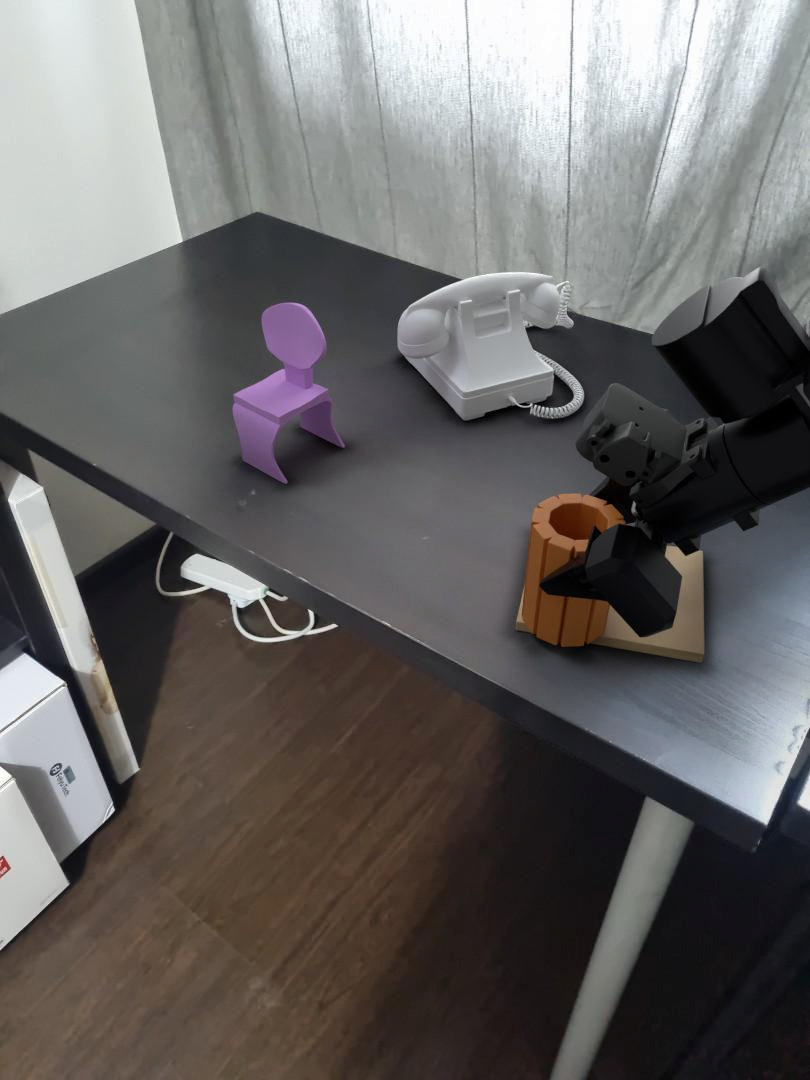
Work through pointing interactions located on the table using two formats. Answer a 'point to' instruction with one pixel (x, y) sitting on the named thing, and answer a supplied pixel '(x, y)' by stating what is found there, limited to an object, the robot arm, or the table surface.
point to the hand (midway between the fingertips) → (553, 557)
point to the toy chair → (285, 388)
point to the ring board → (687, 625)
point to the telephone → (488, 342)
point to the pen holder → (551, 545)
